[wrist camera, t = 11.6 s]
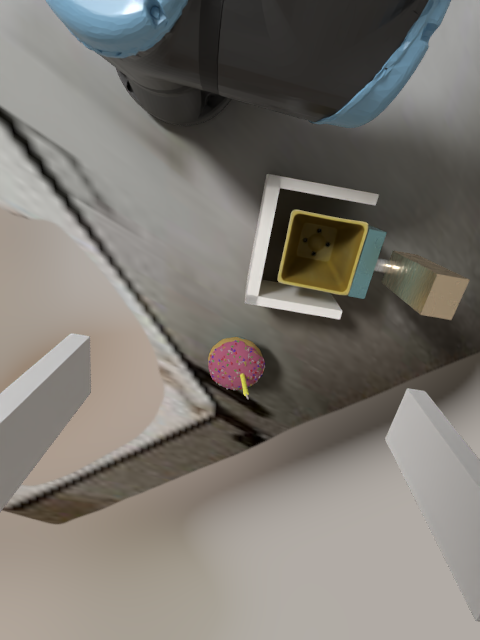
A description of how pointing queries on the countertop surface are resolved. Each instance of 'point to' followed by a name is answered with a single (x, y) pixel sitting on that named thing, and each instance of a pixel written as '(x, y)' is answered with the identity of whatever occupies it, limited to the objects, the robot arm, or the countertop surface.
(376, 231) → the rod
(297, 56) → the robot arm
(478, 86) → the countertop surface
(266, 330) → the countertop surface
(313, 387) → the countertop surface
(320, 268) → the flower pot
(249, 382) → the cupcake
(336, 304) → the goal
